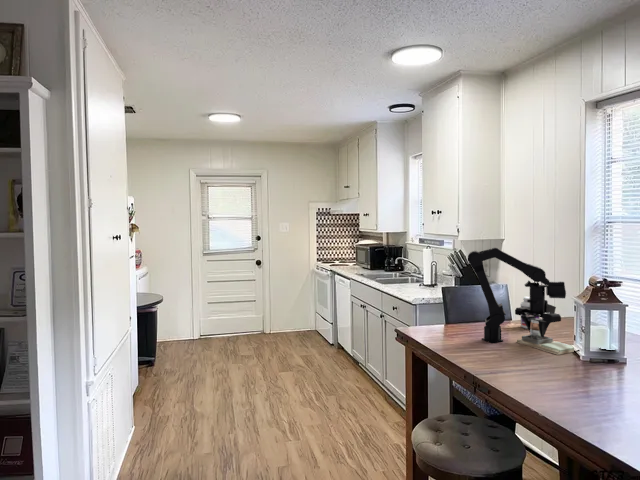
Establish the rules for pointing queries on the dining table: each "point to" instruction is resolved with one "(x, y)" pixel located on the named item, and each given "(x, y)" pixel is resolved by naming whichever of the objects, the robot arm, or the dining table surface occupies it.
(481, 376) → the dining table surface
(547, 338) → the pocket board
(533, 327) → the steel tin
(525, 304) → the pill bottle
